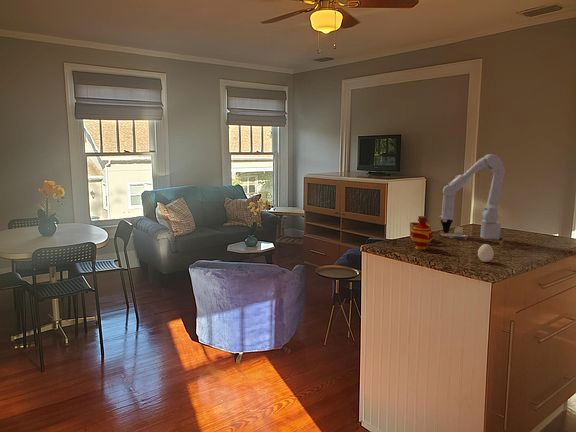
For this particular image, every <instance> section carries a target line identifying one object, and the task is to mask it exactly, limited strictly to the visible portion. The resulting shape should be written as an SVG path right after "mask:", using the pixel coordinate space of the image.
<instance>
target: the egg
mask: <svg viewBox="0 0 576 432" xmlns="http://www.w3.org/2000/svg"><path fill="white" fill-rule="evenodd" d="M493 249H494V248H493V247H492V246H491V245H490V244H487V243H484V244H481V246H480V247H479V248H478V250H477V257H478V259H479V260H480V261H481V262H483V263H489V262H490V261H491V260H492V259H493V258H494V250H493Z"/></svg>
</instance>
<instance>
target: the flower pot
mask: <svg viewBox="0 0 576 432" xmlns="http://www.w3.org/2000/svg"><path fill="white" fill-rule="evenodd" d="M418 224H419V222H413V221H412V222H409V234H410V233H411V231H410V230H411V229H412V228H413V227H415V226H417V225H418ZM425 224H426V225H427V226H429V227H430V228H431V225H430V224H429V223H427V222H426V223H425Z"/></svg>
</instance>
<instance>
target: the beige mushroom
mask: <svg viewBox="0 0 576 432" xmlns="http://www.w3.org/2000/svg"><path fill="white" fill-rule="evenodd" d="M463 228H464V227H463V226H458V225H457V226H456V225H455V226H454V227H453V229H454V232H453V234H462V235H463V231H464V229H463ZM452 238H457V239H456V240H461V239H463V238H464V237H459V236H452ZM452 238H451V239H452Z"/></svg>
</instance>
